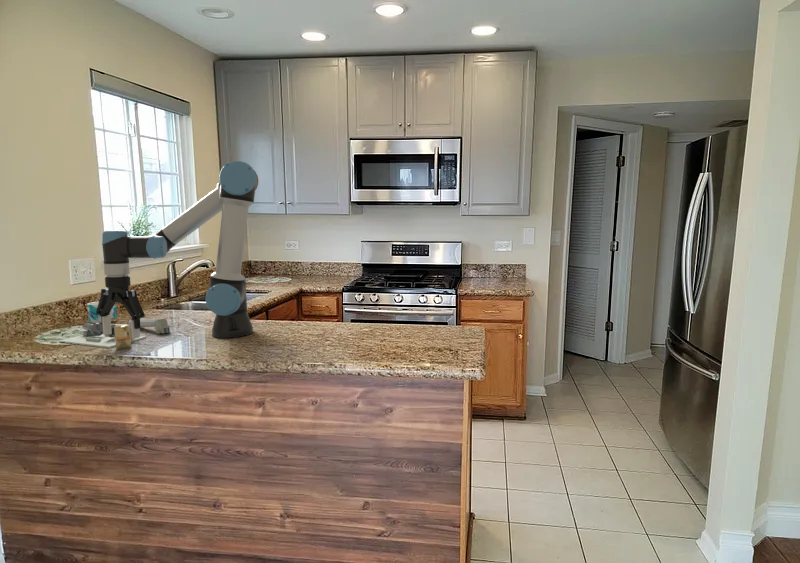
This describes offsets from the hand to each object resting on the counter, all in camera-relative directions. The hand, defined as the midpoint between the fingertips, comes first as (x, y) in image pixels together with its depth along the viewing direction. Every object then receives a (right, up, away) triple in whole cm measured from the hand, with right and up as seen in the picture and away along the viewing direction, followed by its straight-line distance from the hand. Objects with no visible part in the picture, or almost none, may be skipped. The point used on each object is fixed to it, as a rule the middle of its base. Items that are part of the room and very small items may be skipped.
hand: (121, 336), depth 170 cm
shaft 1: (-21, -2, +18) cm, 27 cm away
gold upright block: (0, -4, +1) cm, 4 cm away
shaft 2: (-6, -2, +12) cm, 13 cm away
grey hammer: (-5, -1, +28) cm, 29 cm away
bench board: (-14, -3, +13) cm, 19 cm away
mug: (-35, +1, +47) cm, 59 cm away
